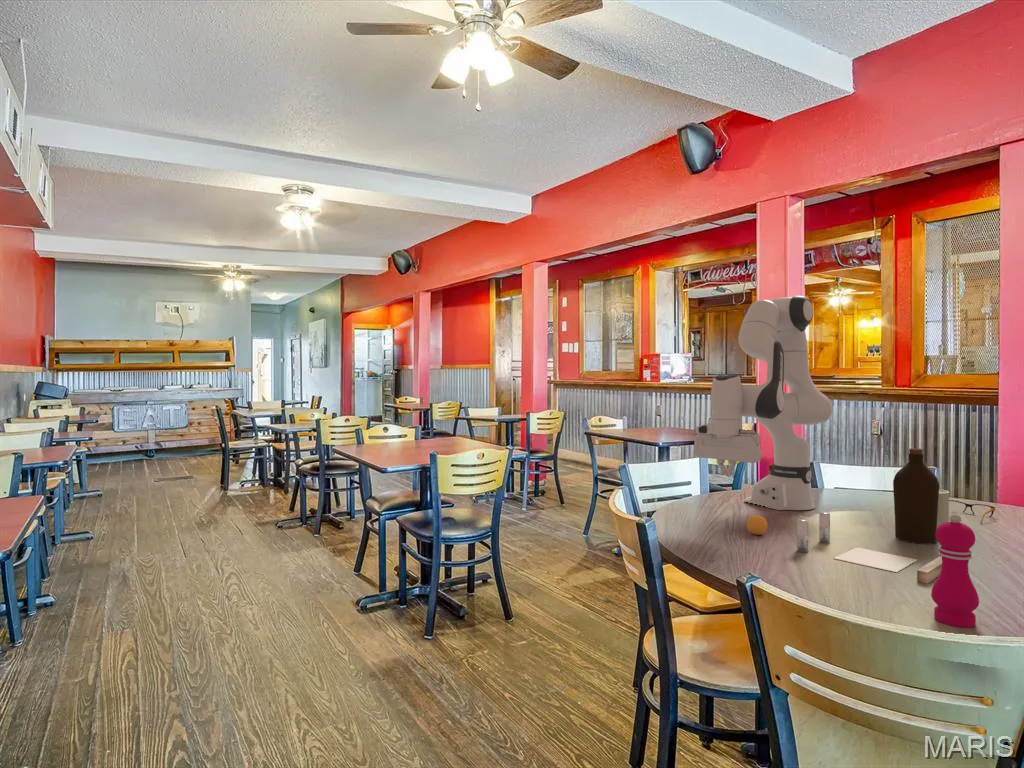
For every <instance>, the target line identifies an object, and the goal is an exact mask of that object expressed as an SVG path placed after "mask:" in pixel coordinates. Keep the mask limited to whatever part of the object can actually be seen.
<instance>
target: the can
mask: <svg viewBox="0 0 1024 768" xmlns="http://www.w3.org/2000/svg"><path fill="white" fill-rule="evenodd" d="M949 500H950V491H949V490H945V489H943V488H939V498H938V513H937V528H938V526H939V525H941V524H943V523H945V522H950V519H949V518H950V513H949V512H950V501H949Z"/></svg>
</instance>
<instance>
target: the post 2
mask: <svg viewBox="0 0 1024 768" xmlns="http://www.w3.org/2000/svg"><path fill="white" fill-rule="evenodd" d="M818 515H819V516H818V517H819V519H818V525H819V526H818V529H819V530H818V534H819V536H818V542H819V543H821V544H827V545H828V544H830V543H831V513H830V512H828V511H827V512H826V511H819V513H818Z"/></svg>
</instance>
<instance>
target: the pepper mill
mask: <svg viewBox="0 0 1024 768" xmlns="http://www.w3.org/2000/svg"><path fill="white" fill-rule="evenodd" d="M936 542H938V543H939V544H940V546H938V550H939V551H938V555H940V556H942V569H941V572H940V575H939V576H938V577H937V578H936V579H935V581H934V583H933V585H932V588H931V593H930V594H931V596H930V597H931V599H932V600H933V601H934V603H935V604H936V606H935V607H934V608H933V609H934V610H933V611H934V612H933V613H934V614H933V615H934V617H933V618H934V619H935V620H936V621H938V622H940V623H941V624H943V625H944V624H945V625H948V626H952V627H957V628H972V627H975V626H976V620H977V619H976V618H977V617H976V614H975V613H974V611H975V610H976V609H978V607H979V606H980V598H979V594H978V591H977V589H976V586H975V585H974V583H973V582H972V579H971V577H970V572H969V561H970V560H971V559H972V558H973V556H972V553H973V551H972V550H971V548H972V547H973V546H974V545H975V543H976V535H975V532H974V530H973V529H972V528H971V527H970V526H968V525H967V524H964V523H962V517H961V516H960V515H959V514H957V513H953V514H951V515H949V522H945V523H943V524H941V525H939V526H938V528H937V530H936Z"/></svg>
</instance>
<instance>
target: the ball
mask: <svg viewBox="0 0 1024 768" xmlns="http://www.w3.org/2000/svg"><path fill="white" fill-rule="evenodd" d="M746 527H747V529H748V532H750V533H751V534H753V535H755V536H756V535H757V536H759V535H760V536H761V535H763V534H764V533H766V532H767V530H768V522H767V520H766V519H765V517H763V516H761V515H758V514H754V515H751V516H750V517H749V518H748V519H747V521H746Z"/></svg>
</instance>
